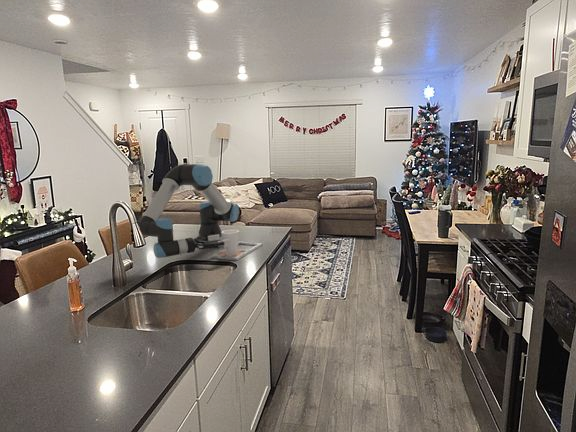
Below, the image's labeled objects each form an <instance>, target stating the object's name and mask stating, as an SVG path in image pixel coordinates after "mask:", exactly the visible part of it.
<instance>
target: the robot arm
mask: <svg viewBox="0 0 576 432" xmlns="http://www.w3.org/2000/svg"><path fill="white" fill-rule="evenodd" d="M213 177H214V176H213V171H212V169H211V167H210V166H209V165H206V164H202V163H197V164H196V163H195V164H194V163H193V164H192V163H191V164H187V163H186V164H183V163H182V164H178V165H176V166H174V167H173V168H171V170H169V171H168V173H166V174H165V176H164V177H163V179H162V182H161V183H162V184H161V186H160V187H159V188H158V191H157V192H156V194H155V195H154V196H153V198H152V200H151V202H150V203H149V205H148V207H147V208H146V209H145V211H144V213H143V214H142V217H140V219H139V220H137V221H138V225H139V227H140V230H141V232H142V234H143V236H142V237H153V238H154V237H155V238H157V242H155V243H154V244H153V253H154V254H153V255H154V256H155V258H157V259H161V258H167V257H174V256H178V255H180V256H182V255H184V254H190V253H194V252H195V250H196V248H197V249H198V250H205V249H219V248H220V247H224V245H230V240H229V239H228V240H223V239H222V240H221V239H220V237H222V234H221V232H222V231H223V230H222V229H221V226H220V223H219V222H230V223H231V222H236V221H237V220H238V218H239V214H240V207H239V205H238V203H235V202H234V203H233V202H231V201H230V199H228V198H225V197H224V195H223V194H222V193H221V192H220V191H219V189H218V188H217V186H216V185H215V184H214V182H213ZM182 186H192V188H193V189H194V190H195V191H197V192H201V193H202V195H203V196H204V197H205V198H206V199H207V201H203V202H200V204H199V219H200V220H199V221H200V227H199V230H198V237H196V238H193V237H187V238H186V237H185V238H180V239H174V230H173V228H174V227H173V221H172V218H170V217H161V215H162V213H163V212H164V210H165V209H166V206H167V205H168V204H169V201H171V198H172V197H173V195H174V193H175V192H176V191H178V190H179V188H180V187H182Z"/></svg>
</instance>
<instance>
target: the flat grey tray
mask: <svg viewBox="0 0 576 432" xmlns="http://www.w3.org/2000/svg"><path fill="white" fill-rule="evenodd" d="M239 244H240V245H242V244H245V246H252V247H251V248H249V249H247V248H246V249H245V248H238V252H237V255H235V256H226V254H225V249H224V248H223V249H221V250H220V251H218V252H216V253H214V254H212V255H210V258H211V259H216V260H217V259H218V260H229V261H239V260H241V259H242V258H244V257H246V256H247V255H249V254H251V253H253V251H255V250H257V249H259V248H260V247H262V246H263V243H262V242H261V243H260V242H252V241H239V240H238V246H239ZM254 245H255V246H254Z"/></svg>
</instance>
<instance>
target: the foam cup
mask: <svg viewBox="0 0 576 432" xmlns="http://www.w3.org/2000/svg"><path fill="white" fill-rule="evenodd" d="M221 231H222V232H221V234H222V235H221V237H222V240H228V239H229V240H230V245H224V246H223V247H224V248H223V249H225V254H226V256H235V255H237V252H238V249H239V245H238V242H239V239H240V238H239V236H240V230H238V229H226V230H221Z"/></svg>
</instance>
